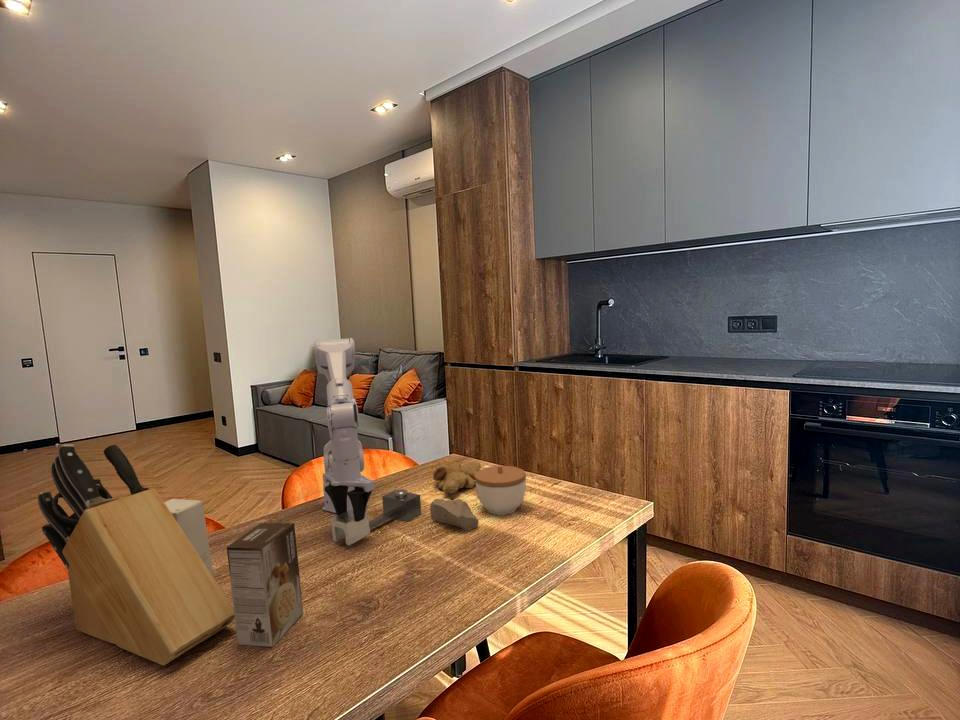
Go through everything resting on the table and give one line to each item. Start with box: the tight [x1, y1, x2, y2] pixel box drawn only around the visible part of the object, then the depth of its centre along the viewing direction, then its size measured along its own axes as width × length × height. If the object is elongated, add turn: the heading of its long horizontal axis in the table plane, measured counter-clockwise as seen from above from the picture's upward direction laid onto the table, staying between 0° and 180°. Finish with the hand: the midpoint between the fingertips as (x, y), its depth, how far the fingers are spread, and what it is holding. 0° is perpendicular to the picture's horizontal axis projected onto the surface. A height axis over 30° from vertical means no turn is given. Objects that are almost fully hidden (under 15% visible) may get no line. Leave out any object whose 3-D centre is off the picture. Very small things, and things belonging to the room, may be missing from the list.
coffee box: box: [226, 522, 304, 648], centre depth 82 cm, size 9×6×16 cm
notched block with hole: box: [330, 508, 371, 546], centre depth 113 cm, size 5×6×5 cm
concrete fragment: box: [429, 497, 479, 531], centre depth 120 cm, size 7×14×6 cm, turn 33°
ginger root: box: [432, 462, 482, 494], centre depth 145 cm, size 16×16×8 cm
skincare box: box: [163, 498, 214, 576], centre depth 99 cm, size 8×7×16 cm
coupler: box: [369, 488, 422, 530], centre depth 123 cm, size 8×14×6 cm, turn 145°
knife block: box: [37, 443, 235, 667], centre depth 84 cm, size 11×35×31 cm, turn 63°
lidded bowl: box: [474, 464, 527, 516], centre depth 126 cm, size 13×13×11 cm
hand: (350, 517), depth 113 cm, fingers closed on notched block with hole, 5 cm apart
